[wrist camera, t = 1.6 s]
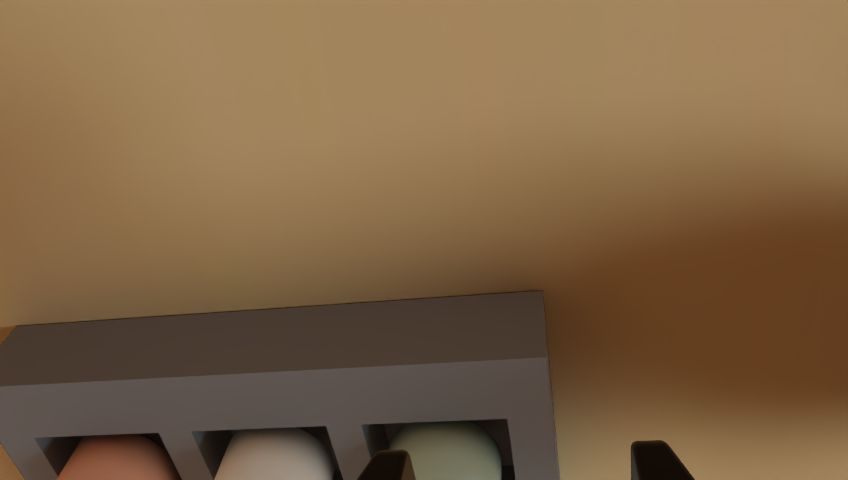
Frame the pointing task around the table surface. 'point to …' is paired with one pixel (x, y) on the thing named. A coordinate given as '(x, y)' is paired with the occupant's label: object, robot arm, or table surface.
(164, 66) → the table surface
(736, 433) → the table surface
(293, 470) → the cream button
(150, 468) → the terracotta button
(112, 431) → the button panel
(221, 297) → the table surface
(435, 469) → the sage button
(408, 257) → the table surface
